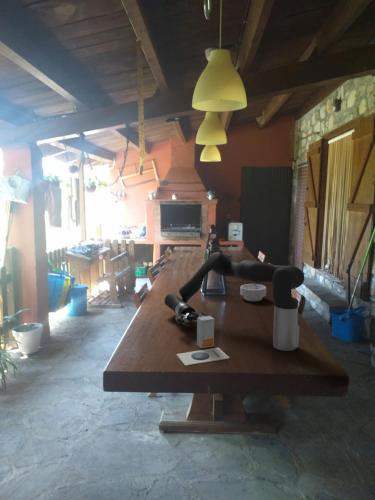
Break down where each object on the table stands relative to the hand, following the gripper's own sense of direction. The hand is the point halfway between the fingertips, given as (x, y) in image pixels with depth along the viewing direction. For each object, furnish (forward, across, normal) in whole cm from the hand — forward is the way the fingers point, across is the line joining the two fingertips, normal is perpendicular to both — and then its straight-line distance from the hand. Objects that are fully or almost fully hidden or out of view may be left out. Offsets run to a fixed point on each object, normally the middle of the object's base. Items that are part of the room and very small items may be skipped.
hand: (198, 323), depth 158 cm
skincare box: (+8, 0, +7) cm, 11 cm away
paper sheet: (+17, -5, +7) cm, 19 cm away
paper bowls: (-44, +53, +7) cm, 70 cm away
